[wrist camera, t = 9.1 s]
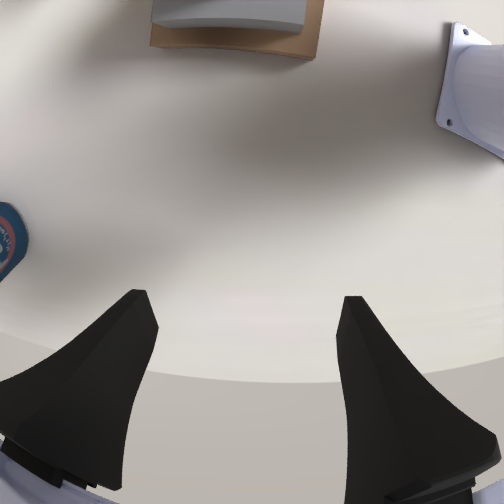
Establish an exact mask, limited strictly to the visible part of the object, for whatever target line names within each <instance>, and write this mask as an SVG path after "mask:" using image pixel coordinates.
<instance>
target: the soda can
mask: <svg viewBox="0 0 504 504" xmlns="http://www.w3.org/2000/svg"><path fill="white" fill-rule="evenodd" d="M28 242H29V233H28V229H27V225H26V223H25V221H24V219H23V217H22V215H21V214H20V212H19V211H18V210H17V209H16V208H15V207H14V206H13V205H12V204H10V203H6V202H0V282H1V281H2V280H3V279H4V278H5V277H6V276H7V275H8V274H9V273H10V271H11V270H12V269H13V268H14V267H15V266H16V265H17V264H18V263H19V262H20V261H21V260H22V259H23V258H24V256H25V254H26V250H27V246H28Z"/></svg>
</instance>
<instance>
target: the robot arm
mask: <svg viewBox="0 0 504 504" xmlns="http://www.w3.org/2000/svg"><path fill="white" fill-rule="evenodd" d="M463 30H464V31H465V32H466V35H465V34H464V33H463ZM448 119H449V120H450V124H449V125H447V120H448ZM436 123H437V124H438V125H439V126H441V127H443V128H445V129H447V130H450V131H452V132H454V133H456V134H458V135H460V136H462V137H464V138H466V139H468V140H470V141H472V142H474V143H476V144H478V145H479V146H481V147H483V148H485V149H487V150H489V151H490V152H492V153H494V154H496V155H497V156H499V157H501V158H502V159H504V45H493V44H492V43H490V42H489V41H488V40H486V39H485V38H483V37H482V36H480V35H479V34H477V33H476V32H474V31H473V30H471V29H470V28H468V27H466V26H465V25H463V24H461V23H459V22H454V23H452V26H451V36H450V44H449V51H448V58H447V64H446V70H445V76H444V81H443V86H442V91H441V96H440V101H439V105H438V109H437V114H436ZM158 329H159V327H158V324H157V321H156V318H155V316H154V313H153V310H152V307H151V304H150V301H149V298H148V296H147V293H146V290H136V289H132V290H130V291H129V292H128V293H126V294H125V295H124V296H123V297H122V298H121V299H119V300H118V301H117V302H116V303H115V304H114V305H113V306H111V307H110V308H109V309H108V310H107V311H106V312H105V313H104V314H102V315H101V316H100V317H99V318H98V319H97V320H96V321H95V322H93V323H92V324H91V325H90V326H89V327H87V328H86V329H85V330H84V331H83V332H81V333H80V334H79V335H78V336H77V337H75V338H74V339H73V340H72V341H70V342H69V343H68V344H66V345H65V346H64V347H62V348H61V349H60V350H58V351H57V352H56V353H54V354H52V355H51V356H49V357H48V358H46V359H44V360H43V361H41V362H39V363H38V364H36V365H34V366H33V367H31V368H29V369H28V370H26V371H24V372H22V373H20V374H17V375H15V376H13V377H11V378H9V379H6V380H4V381H1V382H0V433H1V434H2V435H4V436H5V439H4V441H2V440H1V439H0V504H118V503H116V502H113V501H110V500H108V499H105V498H103V497H100V496H98V495H96V494H93V493H91V492H89V491H86V487H87V485H89V486H91V487H93V488H96V487H97V484H98V485H100V486H103V487H105V488H108V489H110V490H113V491H116V490H118V489H120V488H122V465H123V455H124V447H125V440H126V434H127V429H128V424H129V419H130V415H131V410H132V406H133V402H134V400H135V396H136V394H137V391H138V388H139V386H140V383H141V381H142V378H143V375H144V373H145V370H146V368H147V365H148V363H149V360H150V357H151V355H152V352H153V349H154V345H155V342H156V338H157V333H158ZM336 342H337V357H338V365H339V371H340V377H341V383H342V388H343V395H344V400H345V407H346V415H347V428H348V429H347V431H348V458H347V461H348V462H347V479H346V492H345V502H344V504H504V479H501V480H499V481H497V482H495V483H494V484H491V485H489V486H487V487H485V488H483V489H481V490H479V491H477V492H474V493H472V490H471V488H472V487H474V486H475V484H476V483H475V477H476V476H477V475H479V474H481V473H483V472H484V471H486V470H488V469H490V468H491V467H493V466H494V465H496V464H497V463H499V462H500V460H501V454H500V449H499V445H498V441H497V438H496V435H495V434H494V433H492V432H491V431H489V430H488V429H486V428H484V427H483V426H481V425H479V424H478V423H477V422H475V421H474V420H472V419H471V418H470V417H468V416H467V415H466V414H464V413H463V412H462V411H460V410H459V409H458V408H457V407H455V406H454V405H453V404H452V403H451V402H450V401H449V400H447V399H446V398H445V397H444V396H443V395H442V394H441V393H439V392H438V391H437V390H436V389H435V388H434V387H433V386H432V385H431V384H430V383H429V382H428V381H427V380H426V379H425V378H424V377H423V376H422V375H421V373H420V372H419V371H418V370H417V369H416V368H415V367H414V366H413V364H412V363H411V362H410V361H409V360H408V358H407V357H406V356H405V355H404V354H403V352H402V351H401V350H400V349H399V347H398V346H397V345H396V343H395V342H394V341H393V339H392V338H391V337H390V335H389V334H388V333H387V331H386V330H385V328H384V327H383V326H382V324H381V323H380V321H379V320H378V319H377V317H376V316H375V314H374V313H373V311H372V310H371V308H370V307H369V306H368V304H367V303H366V301H365V300H364V298H363V297H362V296H345V298H344V303H343V307H342V312H341V316H340V321H339V325H338V329H337V334H336Z"/></svg>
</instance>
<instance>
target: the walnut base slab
mask: <svg viewBox="0 0 504 504" xmlns="http://www.w3.org/2000/svg"><path fill="white" fill-rule="evenodd" d="M323 6H324V0H307V4H306V12H305V20H304V26H303V29H302V32H301V34H297V33H290V32H283V31H274V30H264V29H252V28H233V27H190V28H172V29H169V28H166V27H164V26H161V25H158V24H156V23H153V25H152V31H151V39H150V46H154V47H159V48H217V49H233V50H244V51H254V52H263V53H270V54H277V55H284V56H290V57H295V58H301V59H306V60H311V61H312V60H313V59H314V58H315V57H316V51H317V44H318V38H319V32H320V26H321V19H322V13H323Z"/></svg>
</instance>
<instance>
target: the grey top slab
mask: <svg viewBox="0 0 504 504" xmlns="http://www.w3.org/2000/svg"><path fill="white" fill-rule="evenodd" d="M306 4H307V0H154V1H153V8H152V16H151V22H153V23H156V24H158V25H161V26H164V27H166V28H169V29H172V28H190V27H233V28H252V29H264V30H274V31H283V32H290V33H297V34H301V32H302V29H303V26H304V20H305V12H306Z"/></svg>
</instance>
